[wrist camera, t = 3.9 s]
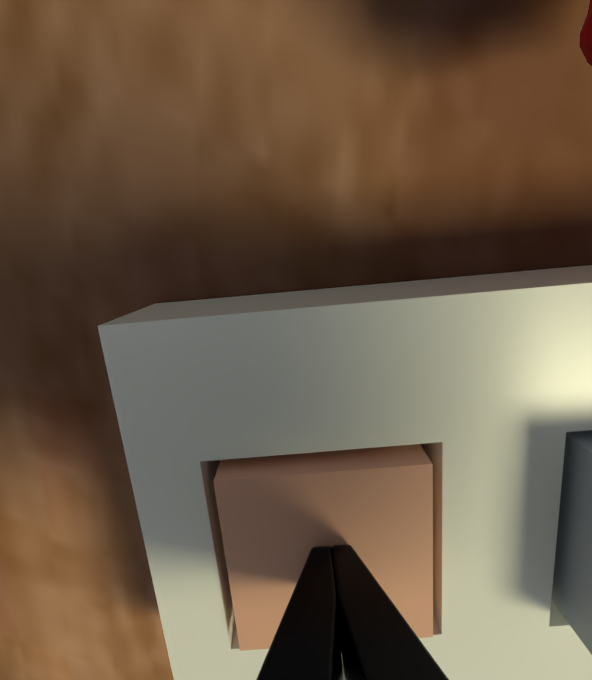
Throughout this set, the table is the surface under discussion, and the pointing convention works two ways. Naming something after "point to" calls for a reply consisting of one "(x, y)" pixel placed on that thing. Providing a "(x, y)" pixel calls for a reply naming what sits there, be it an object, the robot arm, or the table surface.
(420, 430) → the button board
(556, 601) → the slate tile
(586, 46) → the red irregular piece
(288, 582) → the terracotta tile
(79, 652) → the table surface
